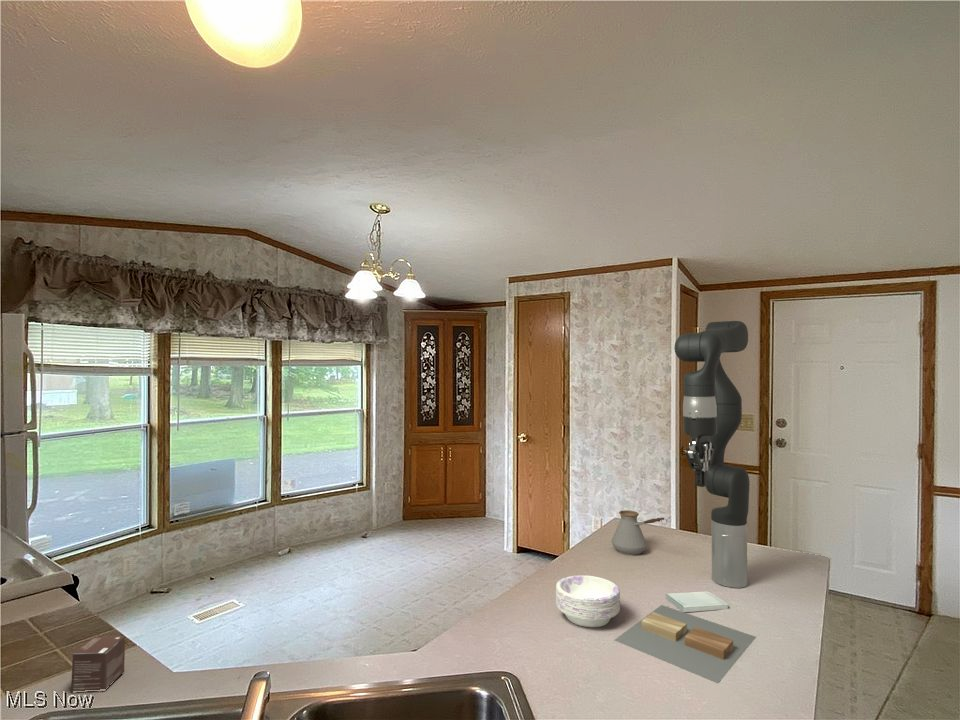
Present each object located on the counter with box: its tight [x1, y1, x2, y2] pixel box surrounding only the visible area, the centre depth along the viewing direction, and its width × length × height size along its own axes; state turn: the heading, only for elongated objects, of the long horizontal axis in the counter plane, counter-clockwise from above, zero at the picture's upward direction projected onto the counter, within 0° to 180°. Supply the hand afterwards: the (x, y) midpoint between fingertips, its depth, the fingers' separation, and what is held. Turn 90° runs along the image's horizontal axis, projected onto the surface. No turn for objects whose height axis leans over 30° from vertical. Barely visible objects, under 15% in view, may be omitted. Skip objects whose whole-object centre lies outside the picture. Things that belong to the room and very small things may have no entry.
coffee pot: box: [610, 509, 668, 556], centre depth 164 cm, size 21×12×15 cm, turn 27°
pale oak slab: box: [641, 611, 687, 642], centre depth 115 cm, size 2×8×6 cm
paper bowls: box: [555, 574, 621, 628], centre depth 121 cm, size 15×15×8 cm
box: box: [70, 635, 126, 693], centre depth 95 cm, size 6×6×7 cm
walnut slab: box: [685, 627, 733, 660], centre depth 108 cm, size 2×8×6 cm
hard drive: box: [664, 591, 729, 613], centre depth 128 cm, size 2×8×12 cm
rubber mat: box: [614, 604, 757, 684], centre depth 111 cm, size 24×22×1 cm
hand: (701, 486), depth 121 cm, fingers closed
